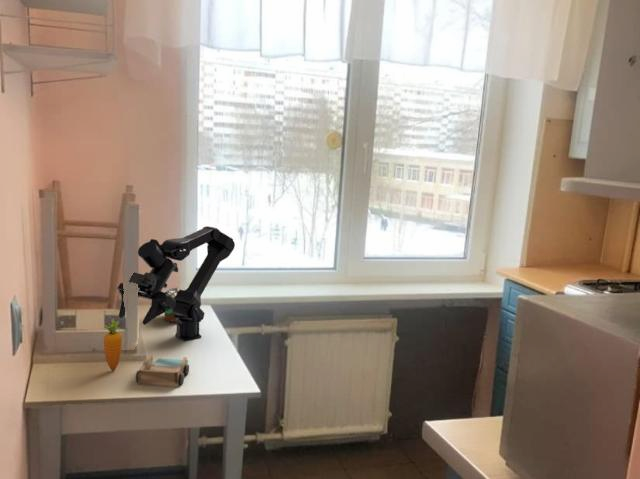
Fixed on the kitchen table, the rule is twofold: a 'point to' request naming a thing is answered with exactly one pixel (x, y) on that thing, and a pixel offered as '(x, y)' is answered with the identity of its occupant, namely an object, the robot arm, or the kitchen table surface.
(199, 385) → the kitchen table surface
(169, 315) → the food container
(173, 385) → the cart
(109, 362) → the carrot
